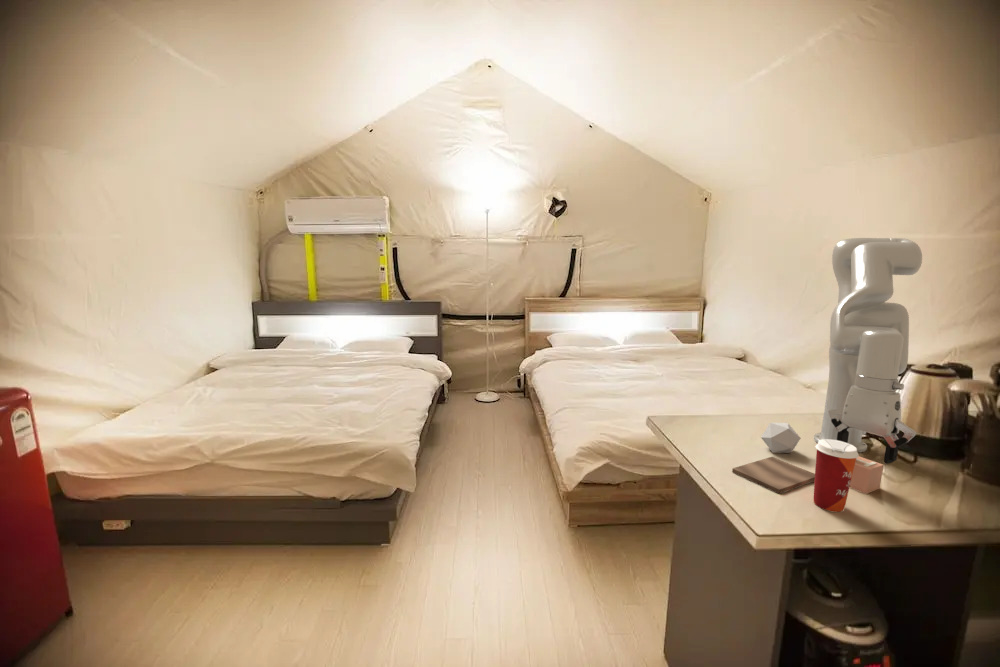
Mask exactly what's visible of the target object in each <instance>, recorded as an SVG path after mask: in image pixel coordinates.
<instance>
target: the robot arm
mask: <svg viewBox="0 0 1000 667" xmlns="http://www.w3.org/2000/svg"><path fill="white" fill-rule="evenodd" d="M831 262H832V263H831V264H832V270H833V274H834V277H835V279H836V282H837V286H838V296H837V297H838V301H837V304H836V306H835V307H834V308H833V311H832V314H831V317H830V320H829V321H830V323H829V343H830V344H829V348H828V359H829V360H828V361H829V363H828V364H829V365H828V366H829V373H828V382H827V388H826V389H827V390H826V397H825V402H824V403H825V404H824V411H823V417H822V426H821V432H817V433H815V434H814V436H813V439H814V441H815V442H816V443H817V444H818V441H819V440H822V439H832V440H838V441H842V442H846V443H848V444H851V445H853V446H855V447H856V448H857V453H863V452H866V451H867V450H868V445H867V443H865V442H864V441H863V440H862V437H863V436H864V435H866V434H867V433H869V434H872V435H876V436H879V437H883V438H884V440H885V441H886V442H887V444H888V445H887V446H885V451H884V456H883V458H884V459H883V463H884V464H887V465H889V464H891V463H894V462H895V461H897V458H898V453H899V452H898V451H899V448H900V447H901V446H903V445H904V444H908V443H910V441H911V440H912V439H913V438H914V437H915V436H917V432H916V431H915V430H914V429H913V428H911V427H910V426H908V425H907V424H906V423H905V422H902V421H901V418H902V401H901V400H902V399H901V393H899V392H896V391H898V390H900V391H903V390H904V388H905V384H903V383H900V382H899V375H900V374H903V373H904V372H905V371H906V369H907V367H908V362H909V337H910V333H909V332H910V317H909V312H908V310H907V308H906V307H905V306H904V305H902V304H900V303H896V302H887V301H888V300H889V299H891V298H892V297H893V295H894V280H893V276H913V275H915V274H916V273H918V272H919V270H920V269H921V267H922V263H923V254H922V250H921V247H920V245H919V244H917V242H915V241H913V240H911V239H908V238H901V237H900V238H899V237H898V238H897V237H894V238H893V237H891V238H889V237H854V238H846V239H842V240H839V241H838V242H837V243H835V245H834V247H833V250H832V258H831ZM900 431H901V432H903V436H902V437H901V438H899V436H897V434H899V433H900Z"/></svg>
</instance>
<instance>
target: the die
mask: <svg viewBox="0 0 1000 667" xmlns="http://www.w3.org/2000/svg"><path fill="white" fill-rule="evenodd" d="M760 439H761V440H762V441H763V443H765V445H766V446H767V447H768V449H769V450H770V451H771V453H772V454H792V453H793V451H794V449H795V447H797V444H798V443H799V442H800V440H801V437H800V435H798V433H797V432H796V431H795V430H794V428H793V427H792V426H791V425H790V423H789V422H769V423H768V425H767V426H766V429H765V430H764V432H763V433H762V435H761V436H760Z"/></svg>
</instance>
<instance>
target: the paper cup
mask: <svg viewBox="0 0 1000 667" xmlns="http://www.w3.org/2000/svg"><path fill="white" fill-rule="evenodd" d="M815 449H816V456H815V467H814V468H815V469H814V474H815V481H813V482H814V484H813V487H814V488H813V504H814V505H816V506H817V507H818V508H820V509H822V510H825V511H828V512H834V513H842V512H844V510H845V506H846V505H847V504H846V503H847V498H848V495H849V491H850V488H851V487H850V483H851V479H852V475H853V470H854V466H855V462H856V458H857V457H858V456H860V455H859V452H857V448H856V447H855V446H853V445H851V444H848V443H846V442H842V441H838V440H832V439H822V440H819V441H818V443H817V444H816V445H815Z"/></svg>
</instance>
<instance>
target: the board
mask: <svg viewBox="0 0 1000 667" xmlns="http://www.w3.org/2000/svg"><path fill="white" fill-rule="evenodd" d="M731 473H733V474H736V475H737V476H740V477H742V478H743V479H746V480H749V481H751V482H753V483H754V484H757V485H759V486H761V487H764V488H765V489H768V490H771V491H772V492H775V493H776V494H782V493H785V492H788V491H790V490H793V489H796V488H799V487H801V486H805V485H806V484H809V483H813V482H815V472H812V471H809V470H807V469H804V468H802V467H799V466H797V465H793V464H792V463H789V462H786V461H783V460H781V459H779V458H776V457H775V456H769V457H766V458H763V459H760V460H756V461H753V462H750V463H747V464H742V465H739V466H736V467H733V468H732V470H731Z"/></svg>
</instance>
